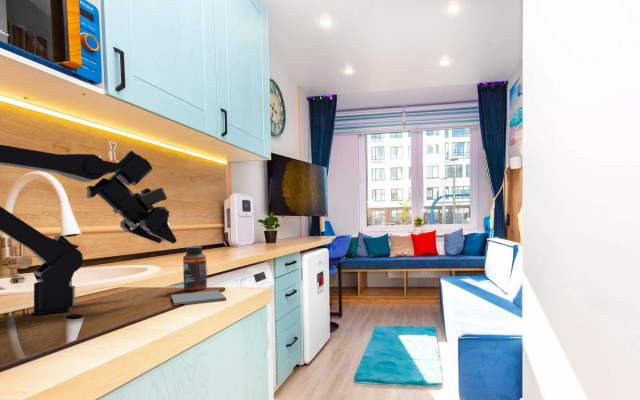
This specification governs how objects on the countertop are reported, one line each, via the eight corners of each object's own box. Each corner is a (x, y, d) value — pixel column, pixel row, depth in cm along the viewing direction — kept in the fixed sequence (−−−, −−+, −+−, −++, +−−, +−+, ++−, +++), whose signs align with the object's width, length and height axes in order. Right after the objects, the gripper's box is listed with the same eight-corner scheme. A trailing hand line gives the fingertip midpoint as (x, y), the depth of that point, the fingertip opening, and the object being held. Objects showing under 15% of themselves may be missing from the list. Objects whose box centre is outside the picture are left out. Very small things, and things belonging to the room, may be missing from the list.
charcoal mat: (174, 305, 84) (174, 303, 84) (171, 297, 94) (171, 295, 94) (226, 300, 88) (226, 297, 88) (218, 292, 98) (218, 290, 98)
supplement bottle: (209, 286, 108) (208, 245, 109) (203, 290, 102) (202, 247, 103) (187, 287, 108) (186, 246, 109) (180, 291, 102) (179, 248, 103)
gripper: (160, 172, 91) (205, 218, 98) (132, 180, 105) (173, 220, 112) (124, 205, 85) (174, 252, 92) (100, 209, 99) (145, 250, 106)
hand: (167, 242), depth 101 cm, fingers open, 9 cm apart
